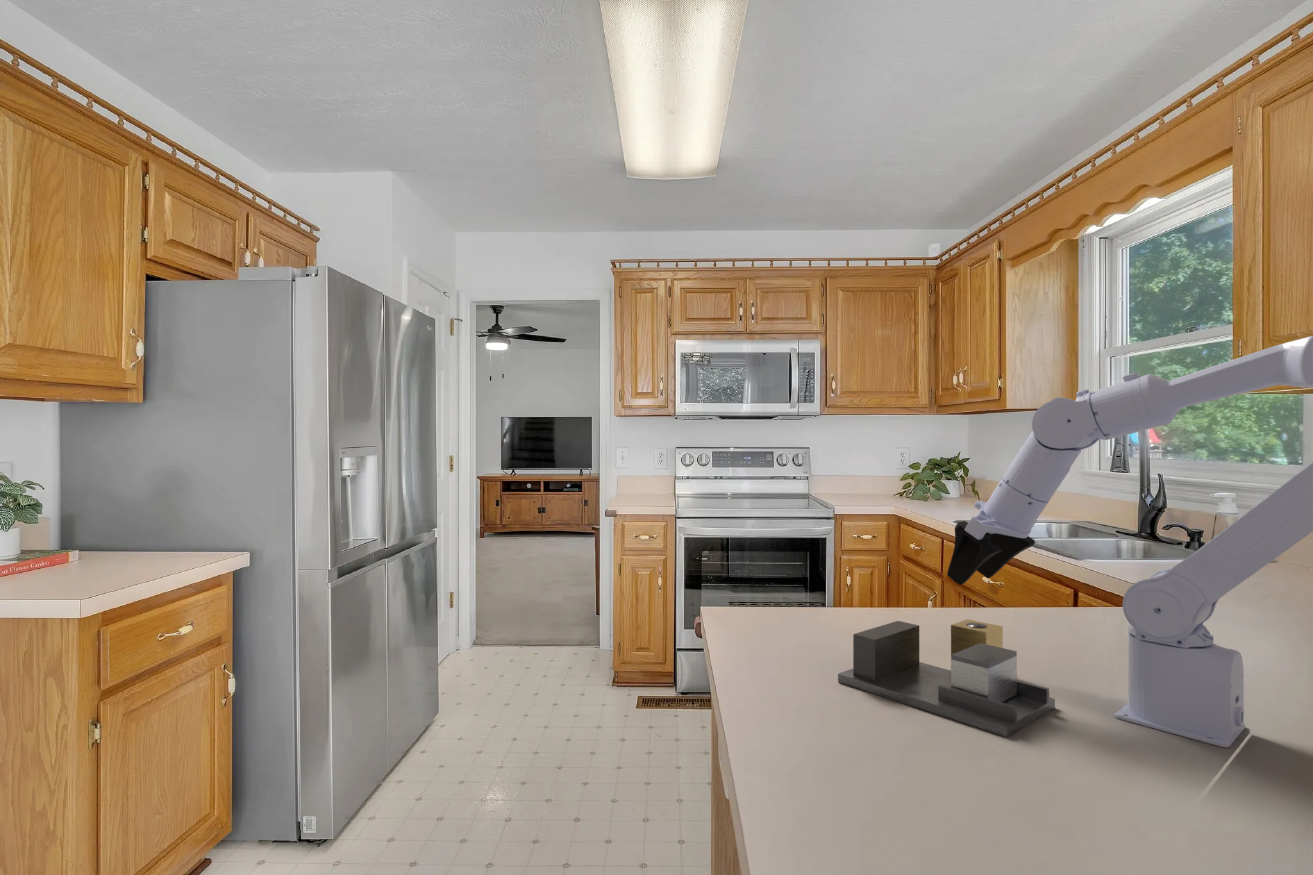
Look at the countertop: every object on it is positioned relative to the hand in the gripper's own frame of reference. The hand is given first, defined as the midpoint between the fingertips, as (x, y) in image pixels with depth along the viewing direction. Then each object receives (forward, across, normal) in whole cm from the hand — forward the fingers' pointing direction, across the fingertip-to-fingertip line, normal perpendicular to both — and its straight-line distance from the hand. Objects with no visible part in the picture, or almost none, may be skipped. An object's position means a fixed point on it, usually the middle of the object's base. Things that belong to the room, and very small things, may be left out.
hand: (968, 576), depth 87 cm
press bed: (+9, +11, +8) cm, 17 cm away
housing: (+10, 0, +7) cm, 12 cm away
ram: (+6, +11, +12) cm, 17 cm away
